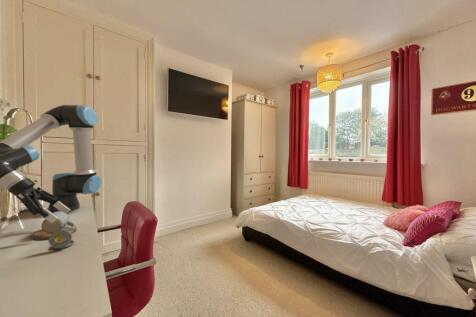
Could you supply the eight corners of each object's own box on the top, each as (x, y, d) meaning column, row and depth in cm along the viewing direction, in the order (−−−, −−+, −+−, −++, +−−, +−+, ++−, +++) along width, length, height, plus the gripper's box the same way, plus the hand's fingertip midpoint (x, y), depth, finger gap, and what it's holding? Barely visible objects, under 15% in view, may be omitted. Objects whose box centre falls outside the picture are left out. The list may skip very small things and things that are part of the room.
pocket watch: (69, 241, 82) (69, 216, 82) (79, 245, 78) (80, 220, 78) (42, 248, 75) (43, 222, 75) (52, 254, 71) (53, 226, 71)
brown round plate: (41, 229, 93) (41, 226, 93) (81, 225, 99) (81, 223, 99) (22, 242, 79) (22, 239, 79) (69, 237, 85) (69, 234, 85)
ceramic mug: (39, 235, 84) (40, 216, 84) (47, 228, 91) (48, 211, 91) (71, 232, 88) (72, 214, 88) (76, 226, 95) (77, 210, 95)
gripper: (26, 185, 94) (65, 214, 100) (-14, 196, 71) (39, 232, 77) (41, 174, 96) (78, 203, 102) (6, 180, 73) (57, 217, 80)
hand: (62, 216), depth 90 cm, fingers open, 13 cm apart
